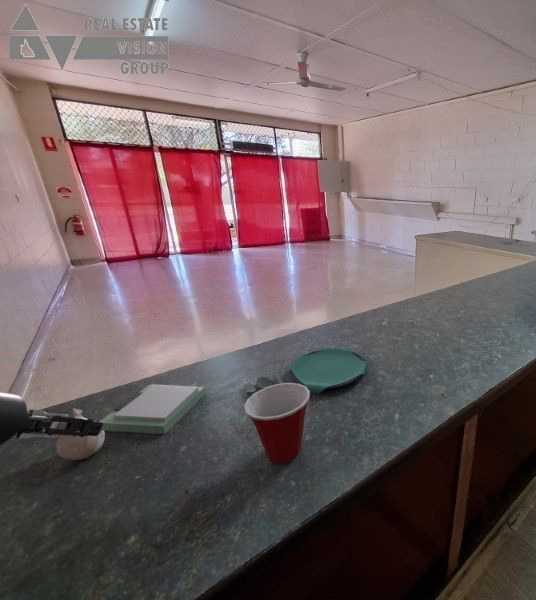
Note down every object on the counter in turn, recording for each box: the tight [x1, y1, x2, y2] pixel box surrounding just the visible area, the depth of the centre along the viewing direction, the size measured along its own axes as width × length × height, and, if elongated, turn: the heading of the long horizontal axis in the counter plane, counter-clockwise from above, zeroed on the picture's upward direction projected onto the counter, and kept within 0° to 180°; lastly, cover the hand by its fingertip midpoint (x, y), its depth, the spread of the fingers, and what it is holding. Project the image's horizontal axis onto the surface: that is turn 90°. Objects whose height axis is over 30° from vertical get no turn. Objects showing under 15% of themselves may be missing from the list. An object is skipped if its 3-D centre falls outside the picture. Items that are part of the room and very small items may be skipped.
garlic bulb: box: [55, 408, 106, 461], centre depth 56 cm, size 7×6×8 cm
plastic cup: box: [243, 382, 311, 465], centre depth 57 cm, size 11×11×12 cm
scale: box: [98, 384, 207, 435], centre depth 68 cm, size 13×13×3 cm
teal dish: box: [242, 347, 369, 397], centre depth 81 cm, size 20×30×2 cm, turn 130°
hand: (75, 427), depth 55 cm, fingers open, 8 cm apart
